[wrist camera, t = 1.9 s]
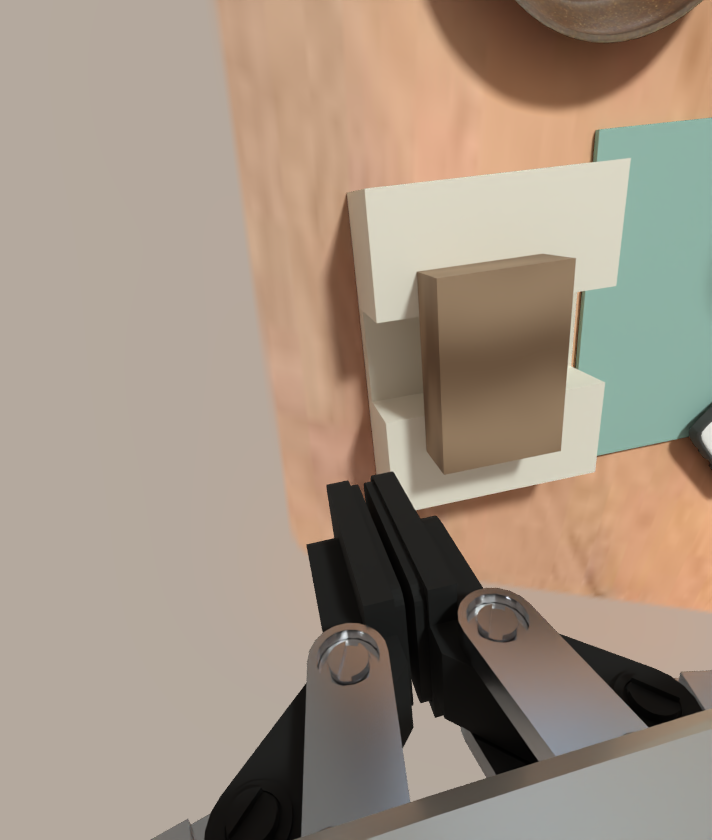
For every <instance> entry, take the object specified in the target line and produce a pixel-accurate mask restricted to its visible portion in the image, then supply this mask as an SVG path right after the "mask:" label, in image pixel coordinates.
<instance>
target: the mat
mask: <svg viewBox="0 0 712 840" xmlns="http://www.w3.org/2000/svg"><path fill="white" fill-rule="evenodd" d="M626 158H631V162H630V170H629V179H628V188H627V197H626V205H625V214H624V223H623V232H622V240H621V249H620V258H619V267H618V275H617V284H616V286H613V287H607V288H600V289H594V290H588V291H582V297H581V308H580V320H579V332H578V343H577V355H576V367H575V368H576V369H578V370H580V371H582V372H584V373H586V374H588V375H590V376H593V377H595V378H597V379H599V380H601V381H603V382H605V389H604V398H603V406H602V415H601V424H600V433H599V441H598V450H597V456H598V455H603V454H608V453H613V452H617V451H622V450H627V449H632V448H637V447H641V446H646V445H651V444H656V443H661V442H665V441H670V440H675V439H680V438H685V437H689V430H690V428H691V426H692V425H693V424H694V423H695V422H696V421H697V420H698V419H699V418H700V417H701V416H702V415H703V414H704V413H705V412H706V411H707V410H708V409H709V408H710V407H711V406H712V118H704V119H695V120H685V121H676V122H667V123H657V124H648V125H638V126H629V127H619V128H610V129H601V130H596V133H595V145H594V157H593V162H600V161H608V160H617V159H626Z"/></svg>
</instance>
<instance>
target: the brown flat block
mask: <svg viewBox="0 0 712 840" xmlns="http://www.w3.org/2000/svg"><path fill="white" fill-rule="evenodd" d="M575 265H576V258H571V257H564V256H556V255H549V254H537V255H530V256H523V257H516V258H509V259H501V260H494V261H487V262H480V263H473V264H466V265H459V266H452V267H445V268H438V269H431V270H424V271H417V285H418V303H419V322H420V340H421V359H422V377H423V396H424V415H425V433H426V451H427V453H428V454H429V455H430V457H431V458H432V459H433V461H434V462H435V463H436V465H437V466H438V467H439V469H440V470H441V472H442V473H443V474H444V475H446V474H451V473H456V472H461V471H466V470H471V469H476V468H480V467H485V466H490V465H495V464H500V463H505V462H510V461H515V460H519V459H524V458H529V457H534V456H539V455H544V454H549V453H554V452H558V451H561V443H562V431H563V418H564V405H565V392H566V380H567V367H568V354H569V341H570V329H571V316H572V303H573V290H574V278H575Z"/></svg>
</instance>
